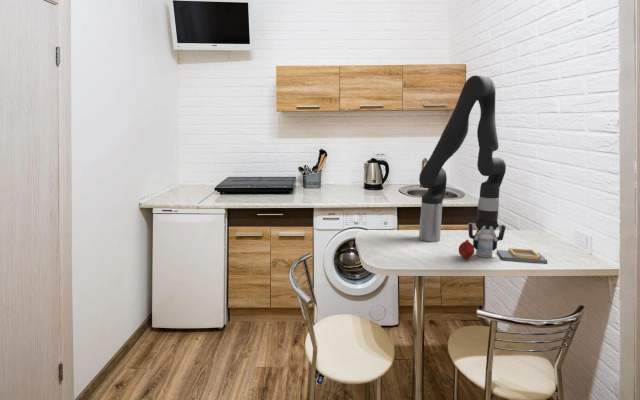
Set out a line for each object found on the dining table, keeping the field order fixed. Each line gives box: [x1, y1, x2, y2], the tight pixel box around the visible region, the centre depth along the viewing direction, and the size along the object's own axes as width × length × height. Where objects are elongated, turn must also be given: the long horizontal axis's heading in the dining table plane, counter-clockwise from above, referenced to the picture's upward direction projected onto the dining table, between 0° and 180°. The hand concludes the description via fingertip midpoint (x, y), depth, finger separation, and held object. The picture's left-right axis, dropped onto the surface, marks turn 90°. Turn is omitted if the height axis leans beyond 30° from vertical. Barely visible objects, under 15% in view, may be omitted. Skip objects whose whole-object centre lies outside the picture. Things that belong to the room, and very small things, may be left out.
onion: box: [458, 239, 475, 260], centre depth 156 cm, size 6×6×8 cm
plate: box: [496, 247, 548, 264], centre depth 159 cm, size 16×10×2 cm, turn 79°
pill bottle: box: [475, 229, 494, 258], centre depth 160 cm, size 6×6×11 cm
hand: (484, 249), depth 161 cm, fingers closed on pill bottle, 6 cm apart
